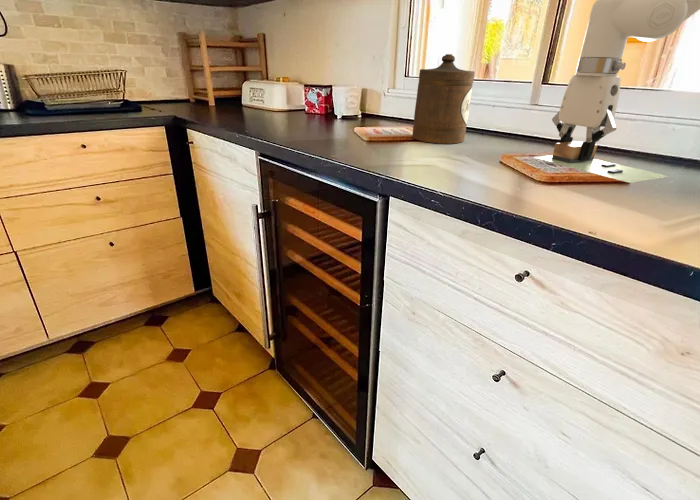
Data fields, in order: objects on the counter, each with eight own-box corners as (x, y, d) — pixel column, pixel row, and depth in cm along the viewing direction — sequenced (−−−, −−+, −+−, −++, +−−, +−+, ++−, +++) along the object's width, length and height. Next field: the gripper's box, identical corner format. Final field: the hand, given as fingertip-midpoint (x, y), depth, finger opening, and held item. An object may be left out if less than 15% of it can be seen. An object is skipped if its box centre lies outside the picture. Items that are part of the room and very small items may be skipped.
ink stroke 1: (615, 166, 84) (615, 164, 84) (606, 167, 83) (606, 165, 83) (609, 164, 85) (610, 163, 85) (600, 166, 84) (601, 164, 84)
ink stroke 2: (622, 172, 80) (623, 170, 79) (613, 173, 78) (613, 171, 78) (616, 171, 81) (617, 169, 80) (607, 172, 79) (607, 170, 79)
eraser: (593, 160, 89) (597, 144, 87) (569, 163, 86) (573, 147, 84) (575, 156, 93) (579, 140, 91) (551, 158, 89) (555, 143, 88)
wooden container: (473, 144, 109) (487, 55, 100) (421, 144, 107) (431, 53, 97) (452, 134, 122) (463, 55, 113) (405, 134, 120) (413, 53, 110)
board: (667, 182, 78) (669, 176, 78) (627, 189, 73) (630, 182, 73) (569, 158, 96) (570, 153, 96) (531, 162, 91) (532, 157, 90)
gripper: (651, 70, 76) (620, 164, 84) (572, 67, 89) (552, 149, 97) (627, 69, 73) (598, 167, 81) (549, 66, 86) (530, 151, 94)
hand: (573, 156), depth 89 cm, fingers closed on eraser, 4 cm apart
